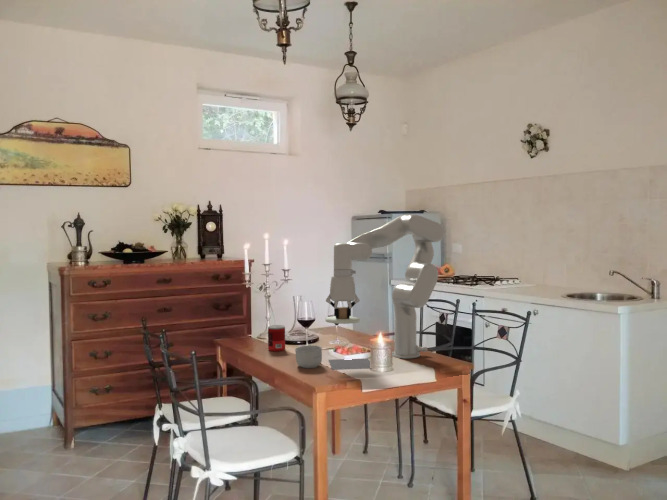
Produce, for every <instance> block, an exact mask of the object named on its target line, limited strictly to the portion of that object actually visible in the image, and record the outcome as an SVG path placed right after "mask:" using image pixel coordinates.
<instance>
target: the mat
mask: <svg viewBox="0 0 667 500" xmlns="http://www.w3.org/2000/svg"><path fill="white" fill-rule="evenodd" d="M344 359H345V358H343V359H335V358H334V359H328V360H327V361H328V363H329V365H330V368H331V370H332V371H334V370H361V369H362V370H363V369H364V370H365V369H371V368H370V362H371V361H370V359H369V358H367V357H366V358H351V359H352V360H344Z"/></svg>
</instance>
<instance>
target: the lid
mask: <svg viewBox="0 0 667 500" xmlns="http://www.w3.org/2000/svg"><path fill="white" fill-rule="evenodd" d="M337 307H338V306H337ZM347 307H348V306H347ZM347 307H346V306H339V307H338V319H336V316H334V315H333V316H328V317H325V322H326V323H331V324H340V325H341V324H343V325H345V324H347V325H348V324H356V323H360V319H361V318H360V317H357V316H352V315H351V316H349V318H347V309H348V308H347Z"/></svg>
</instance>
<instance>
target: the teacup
mask: <svg viewBox="0 0 667 500" xmlns="http://www.w3.org/2000/svg"><path fill="white" fill-rule="evenodd" d="M322 349H323V348H322V346H320V345H314V344H313V345H312V344H308V345H302V346H298V347H296V348H295V349H294V351H295V360H296V364H297V365H298V366H299V367H300V368H302V369H315V368H318V367H319V365H320V364H321V363H322V359H323V355H322V354H323V351H322Z"/></svg>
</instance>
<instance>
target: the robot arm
mask: <svg viewBox="0 0 667 500" xmlns="http://www.w3.org/2000/svg"><path fill="white" fill-rule="evenodd" d="M407 235H411V236H412V238H413V241H414V245H415V246H414V247H415V248H414V253H413V254H412V255H413V256H412V257H411V259H410V262H409V263H408V266H407V268H406V270H405V273H404V277H405V279H406V281H407V282H409V283H400V284H397V285H396V286H395V287H394V288H393V290H392V294H391V295H392V296H391V297H392V303H393V308H394V309H393V311H394V350H393V351H391V352H392V356H391V357H393V358H398V359H404V360H405V359H409V360H410V359H416V358H420V357H421V352H423V353H425V352H428V347H427V346H419V345H417V312H416V309H421V308H423V307H424V306H426V305H427V303H428V301H429V300H430V298H431V296H432V293H433V292H434V289H435V287H436V284H437V282H438V279H439V271H438V268H437V266H436V265H434V264H433V263H432V261H433V259H434V256H435V255H434V254H435V253H434V252H435V250H434V247H433V243H438V242H441V241H442V240H443V238H444V236H445V229H444V227H443V225H442V224H441V223H439V222H437V221H435V220H432V219H429V218H427V217H424V216H422V215H419V214H401V215H399V216H398V217H396V218H394V219H392V220H390V221H388V222H386V223H385V224H383V225H382V226H380V227H377V228H375V229H373V230H371V231H367V232H366V233H365V232H364V233H362V234H360V235H359V236H357V237H355V238H353V239H351V240H350V241H348V242H346V243H345V242H343V243H342V242H338V243H335V244H334V246H333V275H332V276H331V280H330V284H329V285H330V287H329V288H330V289H329V294H328V296H327V298H325V302H326V303H328V304H329V305H331V306H332V307H333V309H334V310H333V311H334V312H333V316H336V319H338V306H339V305H338V304H339V302H346V304H347V308H348V309H347V318H349V316H352V309H353V307H354V306H355V305H356V304H358V303H360V298H359V297H358V295H357V294H356V286H355V285H356V284H355V278H354V276H353V275H354V274H355V275H356V273H357V272H356V271H357V270H353V261H357V262H365V261H367V260H369V259H370V258H371V257H372V254H373V249H378V248H379V249H380V248H384V247H389V246H390V245H392V244H393V243H395V242H396V241H398V240H400V239H402V238H403V237H405V236H407Z"/></svg>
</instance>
